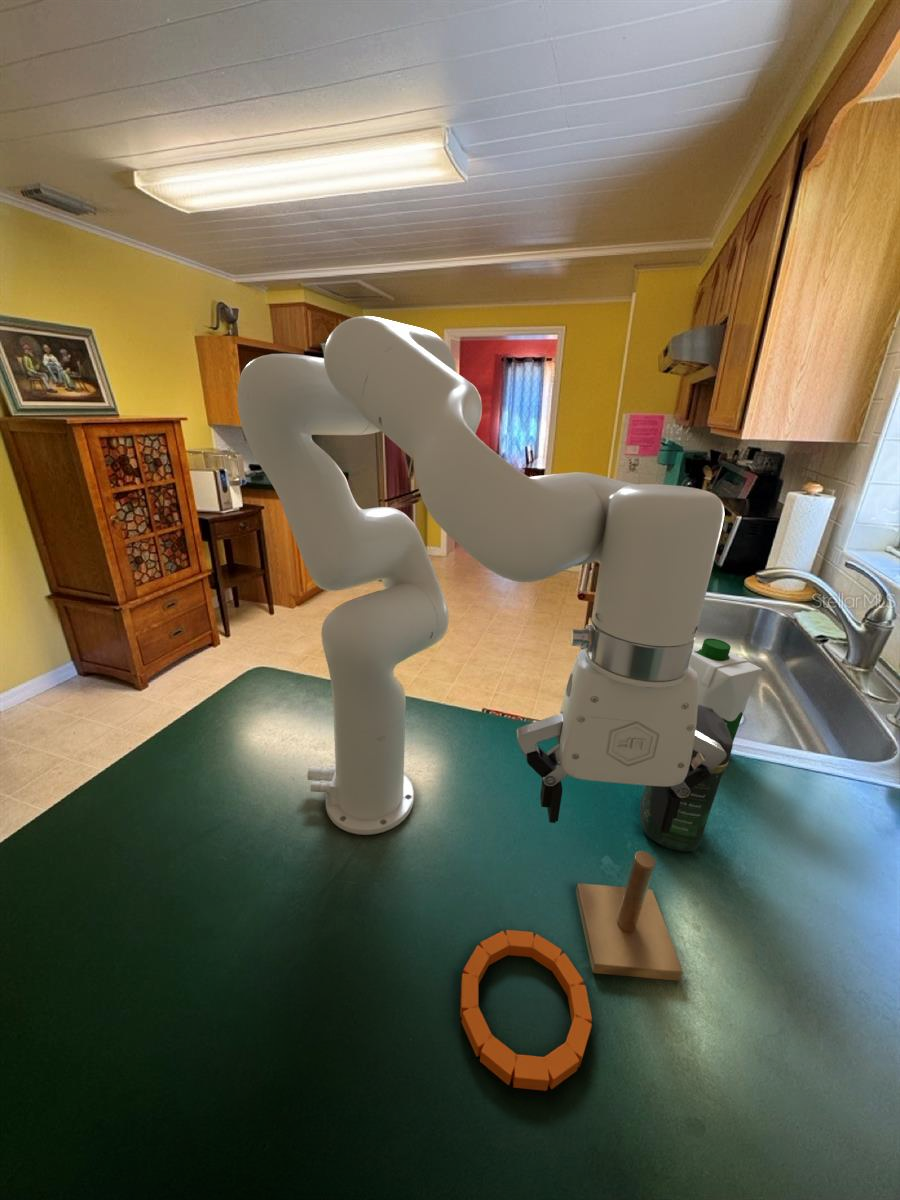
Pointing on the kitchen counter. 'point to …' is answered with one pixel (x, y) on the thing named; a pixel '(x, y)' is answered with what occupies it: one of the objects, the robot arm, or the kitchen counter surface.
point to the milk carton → (723, 681)
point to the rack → (627, 927)
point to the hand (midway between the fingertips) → (604, 815)
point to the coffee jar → (701, 798)
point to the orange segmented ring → (493, 1052)
